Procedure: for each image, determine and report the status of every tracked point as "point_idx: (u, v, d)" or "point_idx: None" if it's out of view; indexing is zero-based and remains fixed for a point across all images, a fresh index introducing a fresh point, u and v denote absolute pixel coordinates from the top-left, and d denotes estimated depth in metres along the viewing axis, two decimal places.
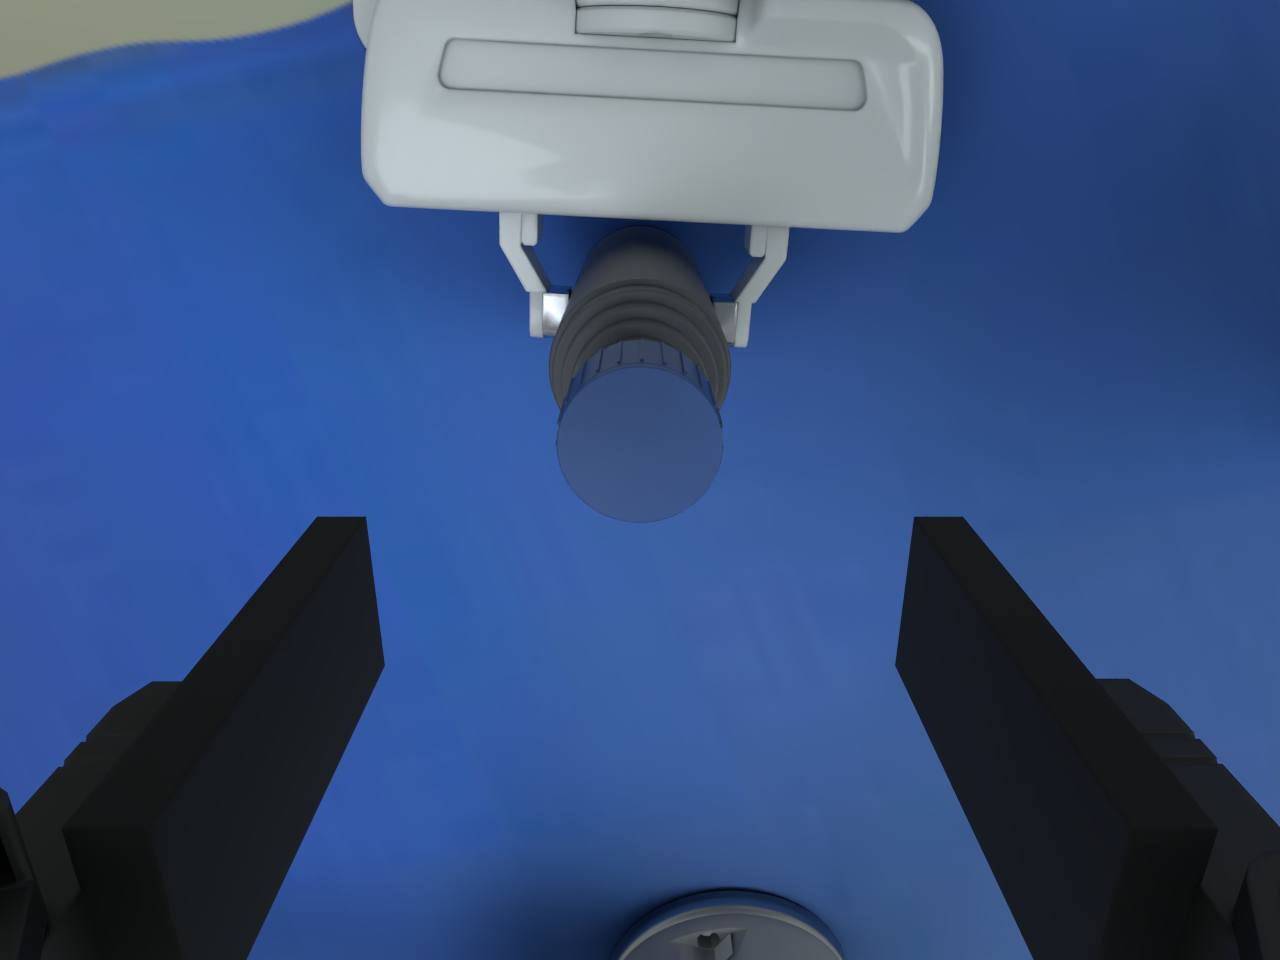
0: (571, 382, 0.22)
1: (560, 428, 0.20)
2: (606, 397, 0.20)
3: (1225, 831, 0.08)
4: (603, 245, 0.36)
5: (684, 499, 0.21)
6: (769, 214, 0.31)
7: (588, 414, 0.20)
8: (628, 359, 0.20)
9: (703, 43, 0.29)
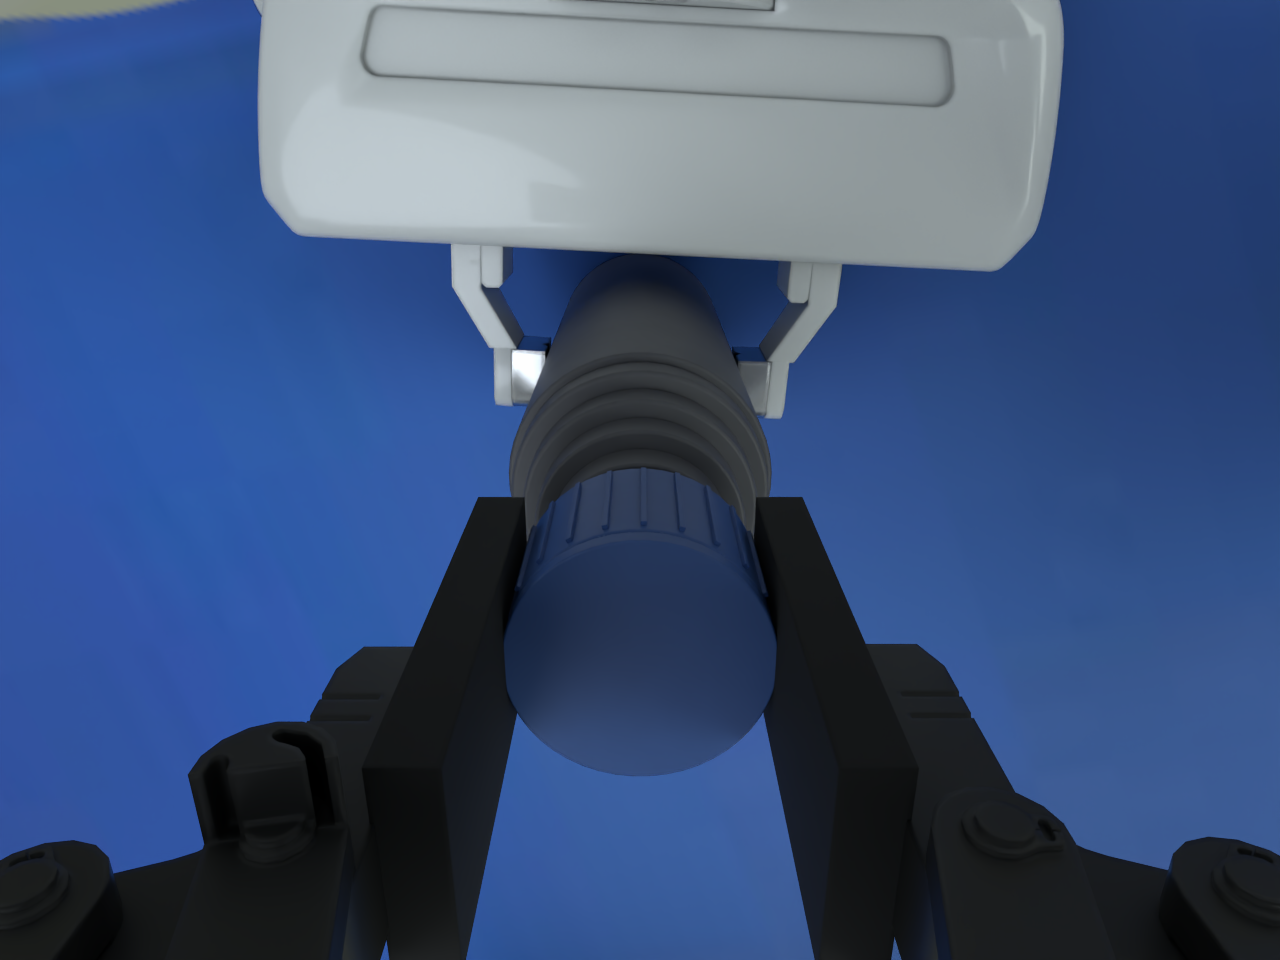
0: (531, 537, 0.14)
1: (506, 637, 0.12)
2: (583, 589, 0.12)
3: (952, 776, 0.09)
4: (593, 281, 0.28)
5: (713, 742, 0.13)
6: (816, 247, 0.23)
7: (553, 615, 0.12)
8: (621, 519, 0.12)
9: (729, 12, 0.21)
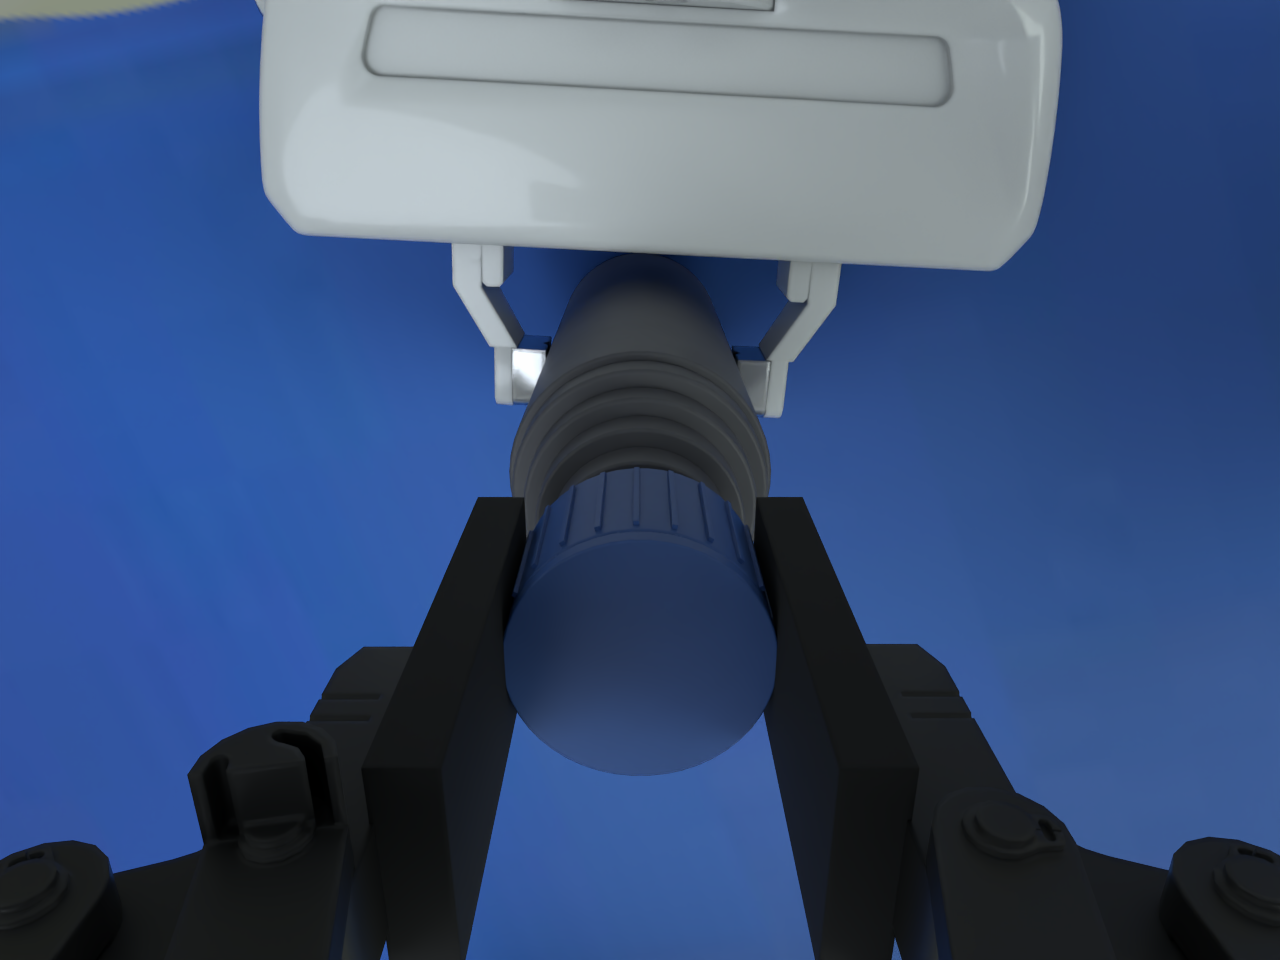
0: None
1: (623, 774, 0.13)
2: (562, 719, 0.13)
3: (951, 776, 0.09)
4: (593, 281, 0.28)
5: (727, 587, 0.12)
6: (815, 247, 0.23)
7: (594, 740, 0.13)
8: None
9: (729, 12, 0.21)
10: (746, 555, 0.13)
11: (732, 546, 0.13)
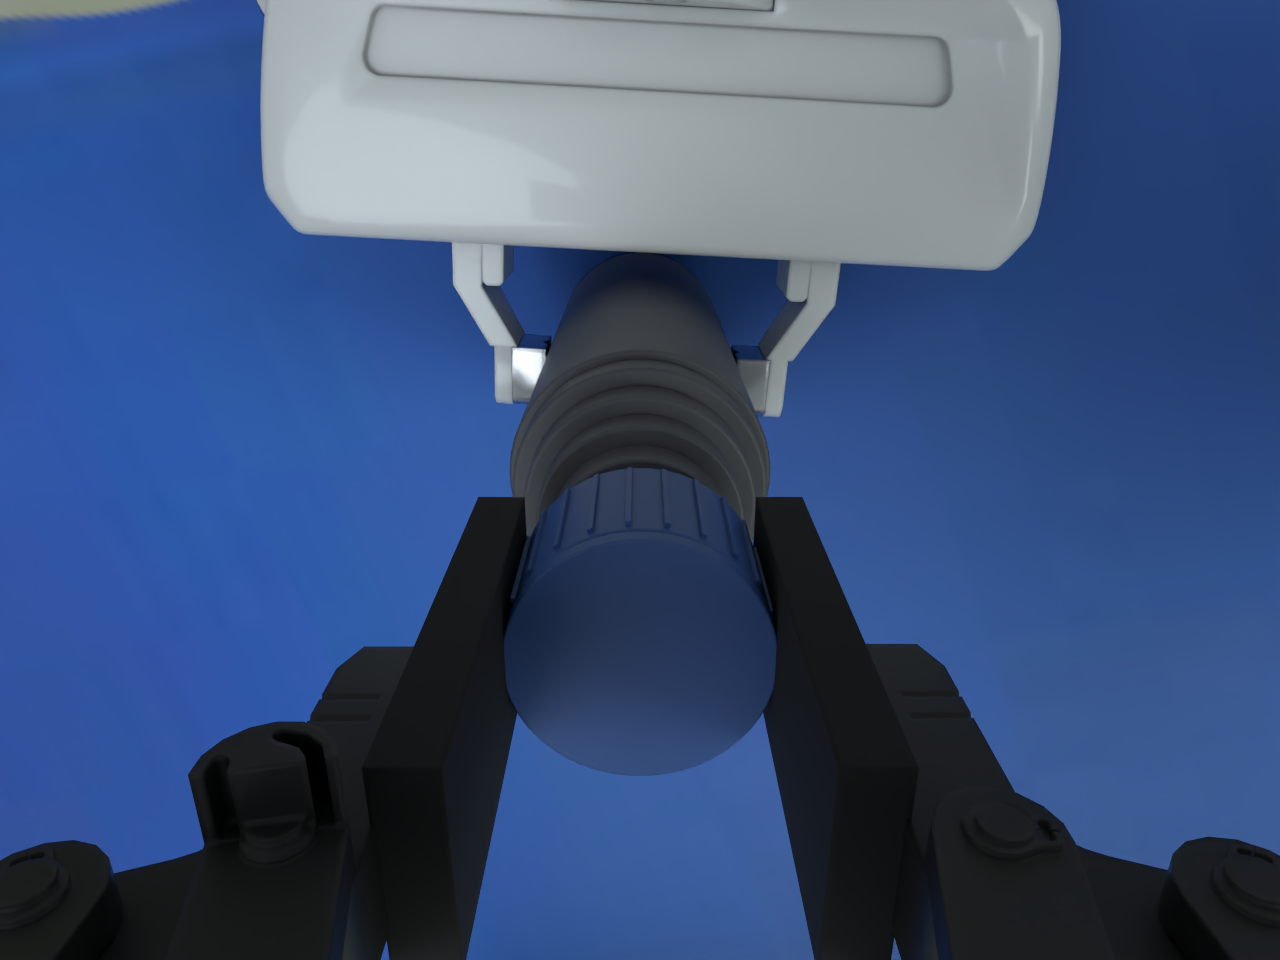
0: None
1: None
2: (711, 724, 0.13)
3: (951, 777, 0.09)
4: (593, 280, 0.28)
5: (539, 600, 0.12)
6: (815, 246, 0.23)
7: (734, 695, 0.12)
8: None
9: (729, 13, 0.21)
10: (549, 538, 0.13)
11: None
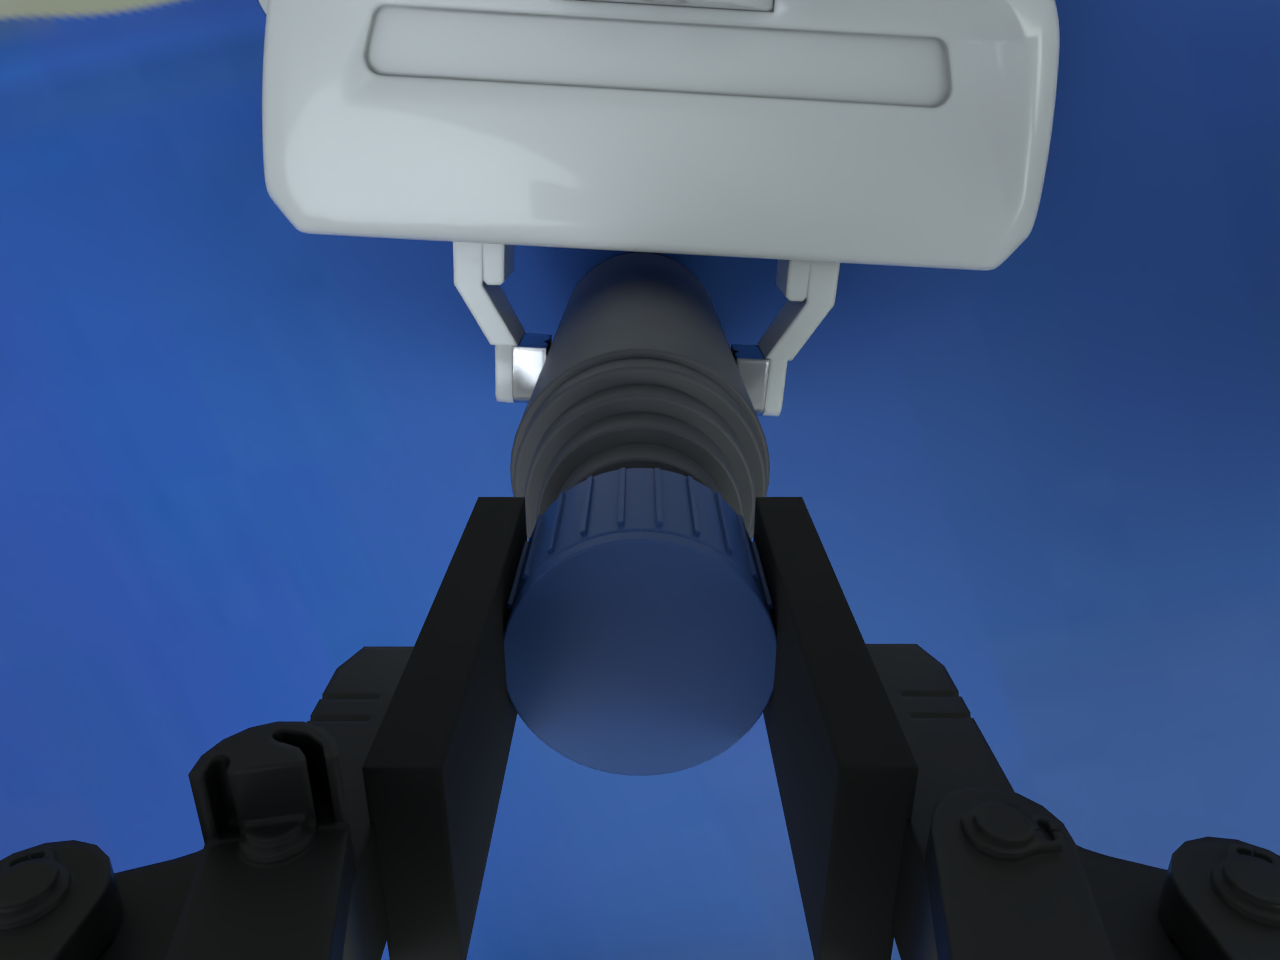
0: (660, 479, 0.13)
1: (624, 544, 0.12)
2: (704, 593, 0.12)
3: (951, 777, 0.09)
4: (593, 279, 0.28)
5: (581, 750, 0.13)
6: (814, 246, 0.23)
7: (665, 577, 0.12)
8: (758, 581, 0.13)
9: (729, 13, 0.21)
10: None
11: None
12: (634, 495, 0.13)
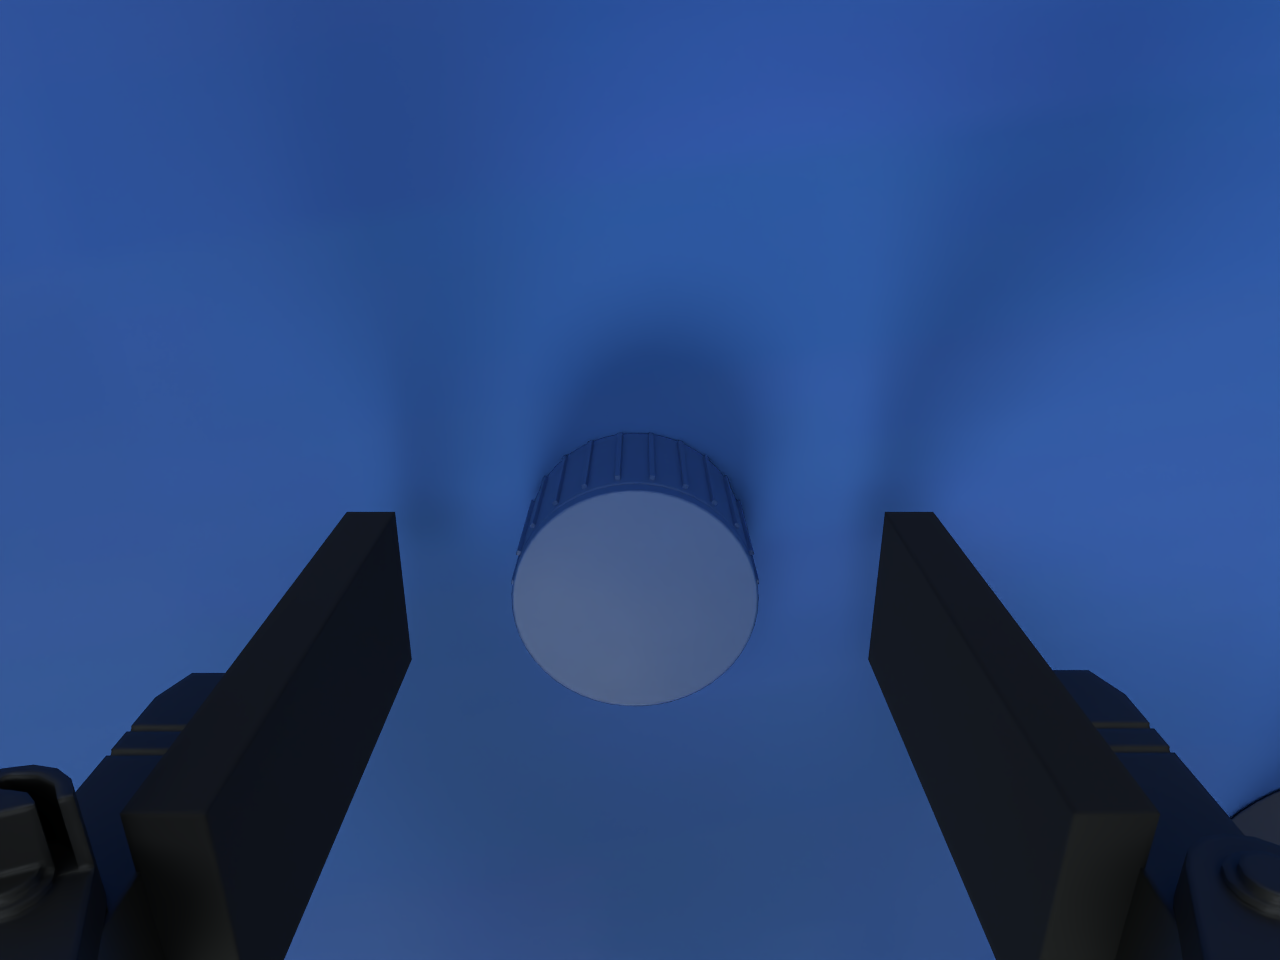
0: (653, 442, 0.15)
1: (620, 494, 0.13)
2: (691, 538, 0.13)
3: (1170, 819, 0.09)
4: None
5: (583, 682, 0.14)
6: None
7: (657, 524, 0.13)
8: (741, 531, 0.14)
9: None
10: None
11: None
12: (630, 455, 0.14)
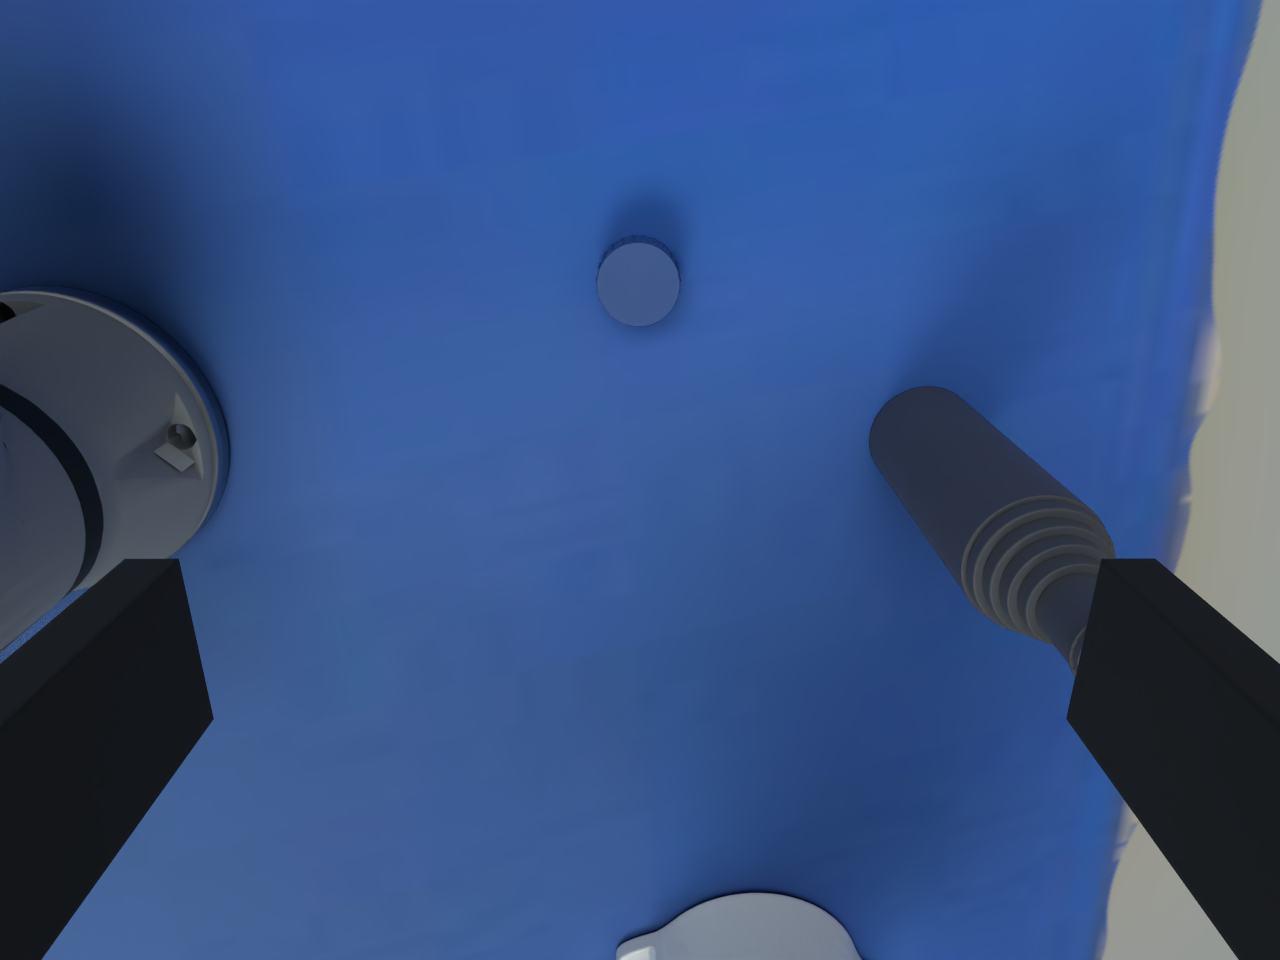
0: (644, 236, 0.42)
1: (633, 243, 0.40)
2: (657, 260, 0.40)
3: None
4: None
5: (620, 316, 0.41)
6: None
7: (645, 254, 0.40)
8: (674, 262, 0.41)
9: None
10: None
11: None
12: (636, 238, 0.42)
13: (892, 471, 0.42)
